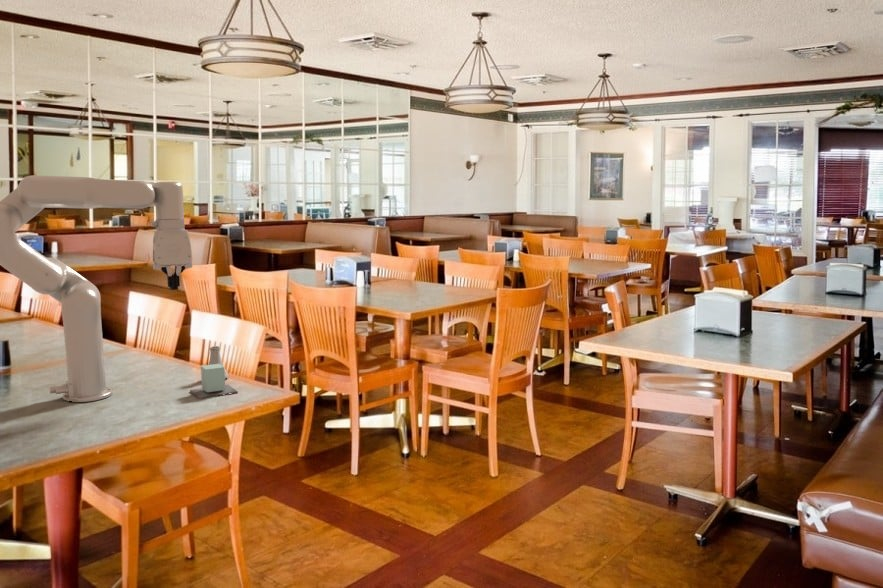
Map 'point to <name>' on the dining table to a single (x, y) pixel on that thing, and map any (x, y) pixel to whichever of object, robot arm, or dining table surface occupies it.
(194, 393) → the thin dark base plate
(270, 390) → the dining table surface
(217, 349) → the flask
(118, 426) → the dining table surface
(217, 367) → the sage green cube
